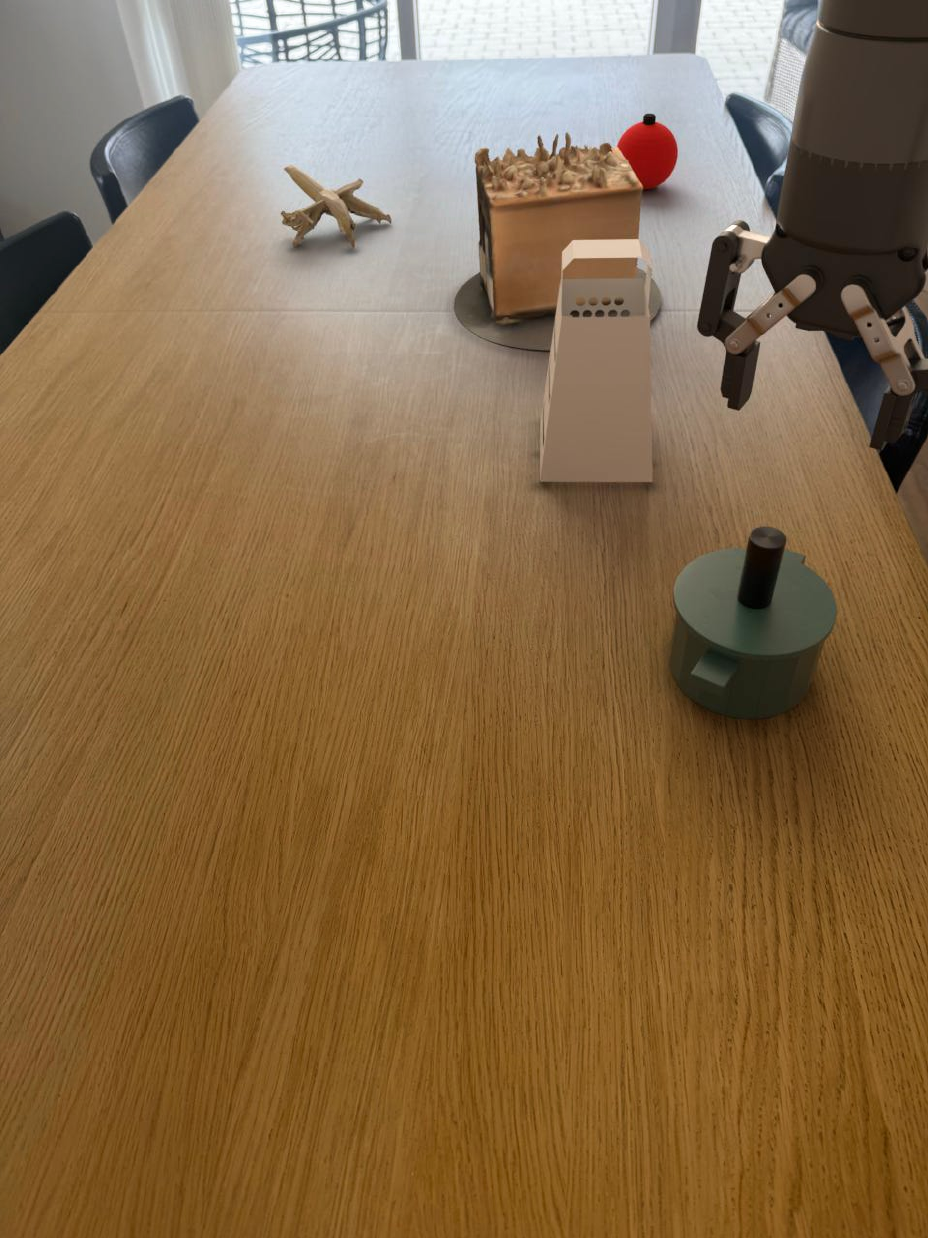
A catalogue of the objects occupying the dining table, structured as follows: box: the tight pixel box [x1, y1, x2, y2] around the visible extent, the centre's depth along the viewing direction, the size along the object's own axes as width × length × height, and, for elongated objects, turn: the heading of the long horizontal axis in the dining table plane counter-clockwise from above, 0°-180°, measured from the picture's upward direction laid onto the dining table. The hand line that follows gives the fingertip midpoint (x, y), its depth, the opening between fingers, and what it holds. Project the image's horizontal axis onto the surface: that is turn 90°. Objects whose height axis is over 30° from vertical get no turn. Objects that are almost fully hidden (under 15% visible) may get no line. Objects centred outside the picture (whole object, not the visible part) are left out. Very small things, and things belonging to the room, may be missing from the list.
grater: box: [539, 238, 654, 483], centre depth 88 cm, size 10×10×20 cm
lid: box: [672, 526, 838, 661], centre depth 67 cm, size 11×11×7 cm
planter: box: [453, 132, 662, 351], centre depth 111 cm, size 25×25×19 cm
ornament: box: [616, 113, 679, 190], centre depth 140 cm, size 9×9×10 cm
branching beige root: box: [280, 164, 392, 249], centre depth 134 cm, size 9×16×15 cm
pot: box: [668, 548, 826, 720], centre depth 71 cm, size 10×16×6 cm, turn 146°
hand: (807, 422), depth 57 cm, fingers open, 8 cm apart
